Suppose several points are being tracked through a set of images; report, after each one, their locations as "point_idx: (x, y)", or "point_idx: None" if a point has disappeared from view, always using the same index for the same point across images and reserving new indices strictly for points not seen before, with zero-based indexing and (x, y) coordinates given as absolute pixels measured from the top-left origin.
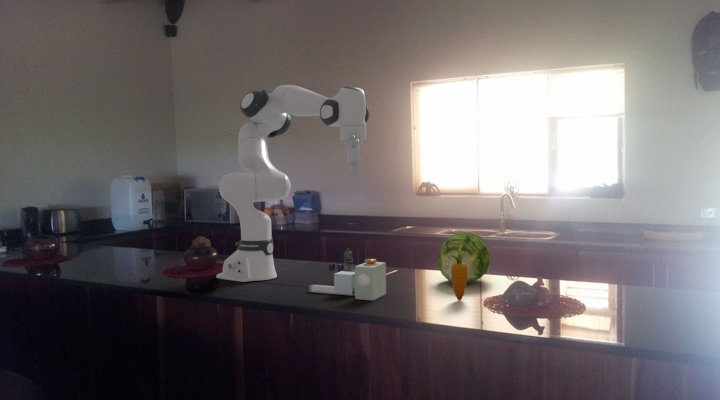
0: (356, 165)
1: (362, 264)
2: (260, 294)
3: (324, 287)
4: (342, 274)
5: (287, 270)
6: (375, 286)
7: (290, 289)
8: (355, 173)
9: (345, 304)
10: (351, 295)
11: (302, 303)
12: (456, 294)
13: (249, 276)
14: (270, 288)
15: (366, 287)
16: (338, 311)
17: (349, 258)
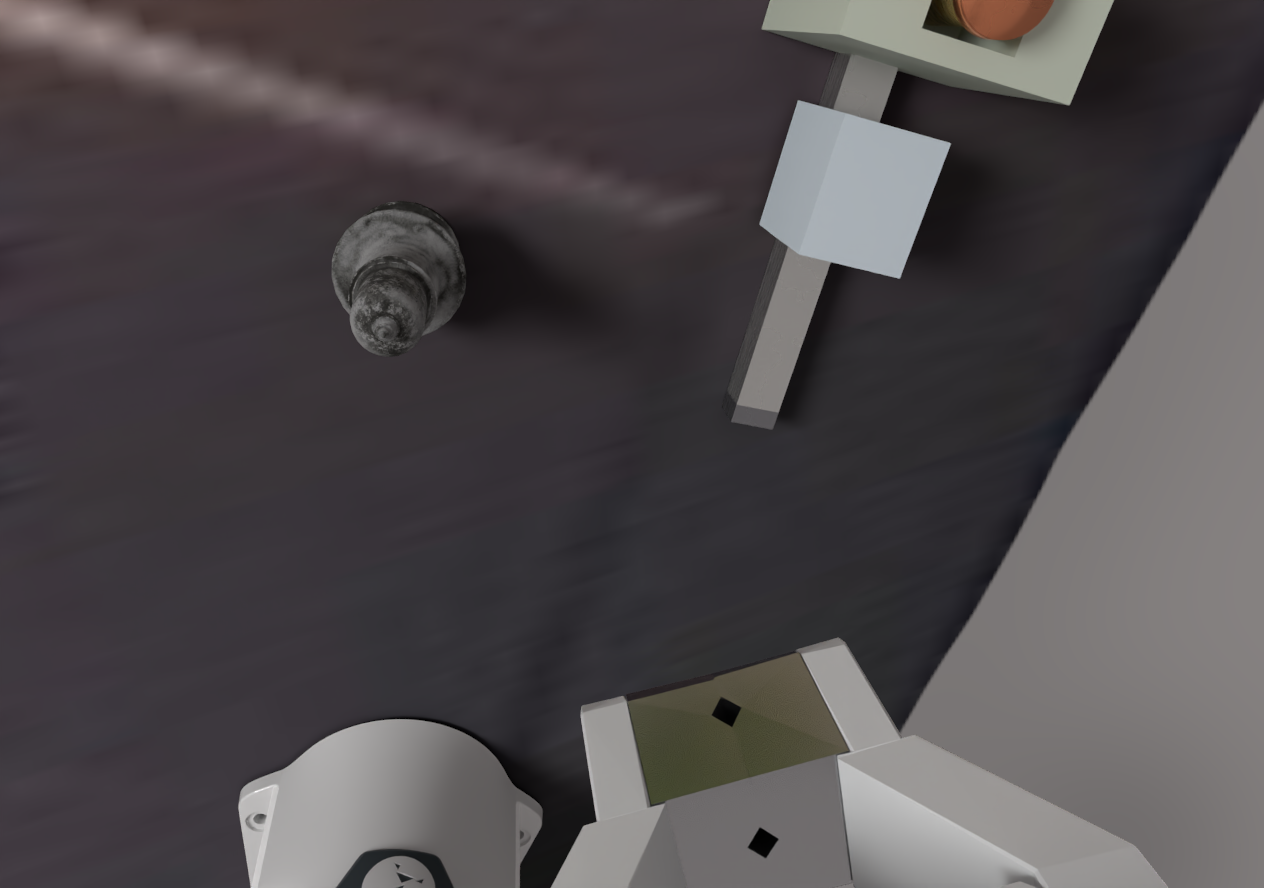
0: (1148, 872)
1: (989, 58)
2: (827, 620)
3: (806, 327)
4: (923, 214)
5: (102, 754)
6: None
7: (698, 530)
8: (873, 702)
9: (1081, 118)
10: None
11: (1036, 359)
12: None
13: (519, 812)
14: (680, 633)
15: None
16: (1231, 120)
17: (421, 290)
